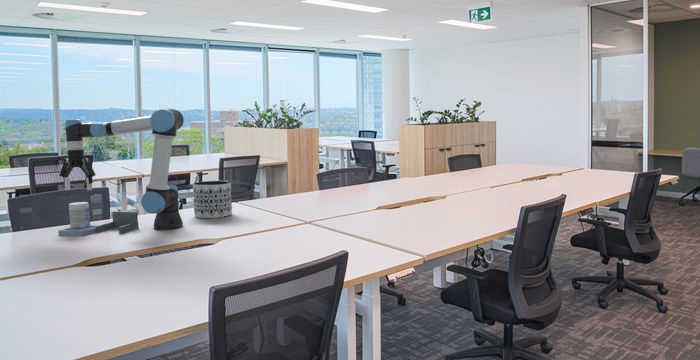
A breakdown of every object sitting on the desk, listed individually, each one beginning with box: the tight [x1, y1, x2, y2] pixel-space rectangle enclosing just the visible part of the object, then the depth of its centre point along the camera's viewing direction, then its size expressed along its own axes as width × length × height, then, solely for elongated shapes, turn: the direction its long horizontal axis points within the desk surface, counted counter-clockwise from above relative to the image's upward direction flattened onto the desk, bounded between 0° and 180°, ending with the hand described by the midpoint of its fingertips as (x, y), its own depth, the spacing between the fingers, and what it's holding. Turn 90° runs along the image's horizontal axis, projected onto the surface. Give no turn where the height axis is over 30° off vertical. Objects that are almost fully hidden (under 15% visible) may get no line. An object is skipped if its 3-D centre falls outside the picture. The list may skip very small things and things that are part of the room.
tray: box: [57, 224, 99, 237], centre depth 281 cm, size 15×15×2 cm
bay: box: [95, 210, 139, 235], centre depth 284 cm, size 14×15×9 cm
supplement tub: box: [68, 201, 91, 231], centre depth 280 cm, size 10×10×15 cm
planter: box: [192, 180, 233, 219], centre depth 325 cm, size 22×22×20 cm
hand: (78, 189), depth 279 cm, fingers open, 13 cm apart
